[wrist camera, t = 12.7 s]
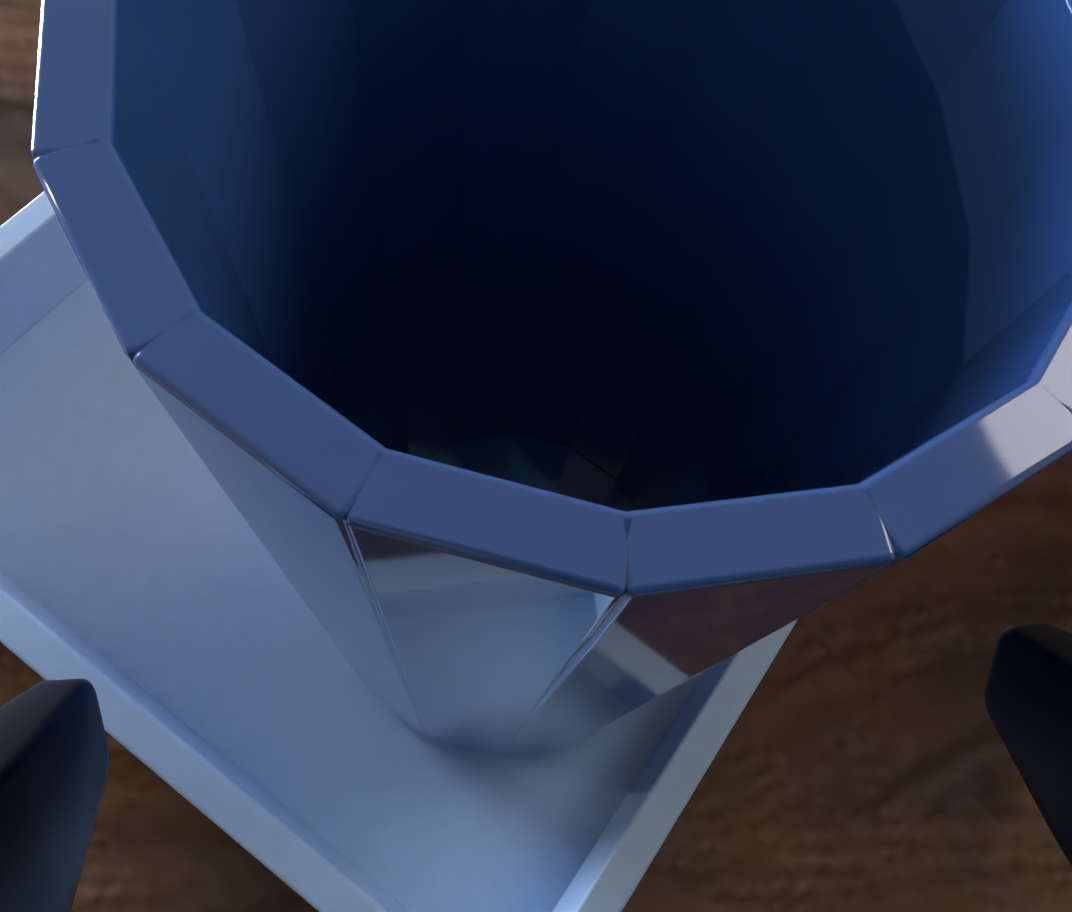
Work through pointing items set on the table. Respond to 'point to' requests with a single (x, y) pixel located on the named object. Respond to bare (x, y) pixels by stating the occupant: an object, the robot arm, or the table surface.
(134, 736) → the blue tray
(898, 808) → the table surface
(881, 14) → the blue cup
